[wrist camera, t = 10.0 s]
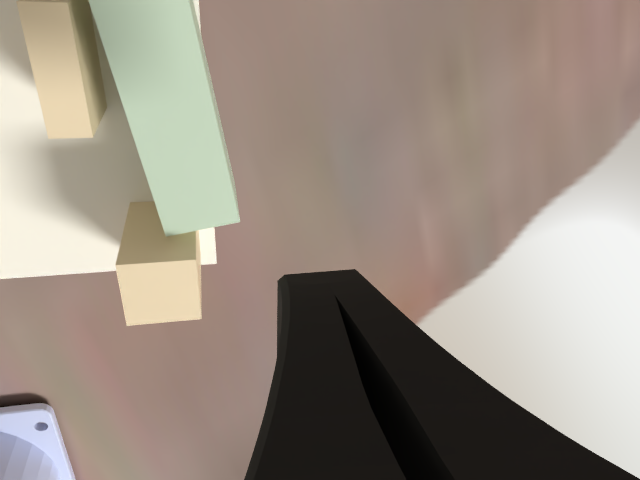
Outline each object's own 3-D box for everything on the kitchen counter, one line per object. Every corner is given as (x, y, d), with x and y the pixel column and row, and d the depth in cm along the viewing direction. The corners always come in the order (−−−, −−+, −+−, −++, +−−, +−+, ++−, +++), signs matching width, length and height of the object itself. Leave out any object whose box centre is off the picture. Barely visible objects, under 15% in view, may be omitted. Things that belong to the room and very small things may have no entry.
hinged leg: (50, -163, 11) (5, -187, 9) (162, -176, 12) (152, -204, 9) (163, 196, 16) (156, 252, 13) (240, 181, 16) (249, 233, 14)
